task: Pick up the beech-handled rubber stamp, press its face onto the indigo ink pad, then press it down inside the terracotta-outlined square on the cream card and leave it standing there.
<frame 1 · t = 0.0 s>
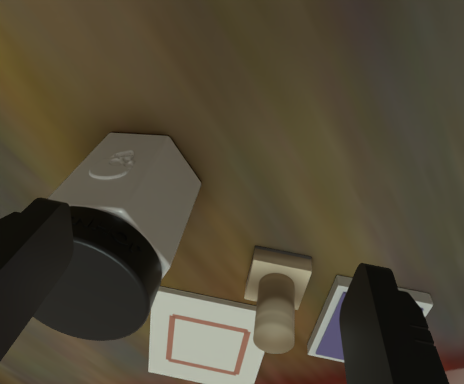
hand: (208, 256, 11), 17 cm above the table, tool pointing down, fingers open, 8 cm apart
ink pad: (363, 320, 36), on the table
jar: (147, 177, 31), on the table
sheet: (207, 341, 41), on the table
stamp: (277, 270, 34), on the table
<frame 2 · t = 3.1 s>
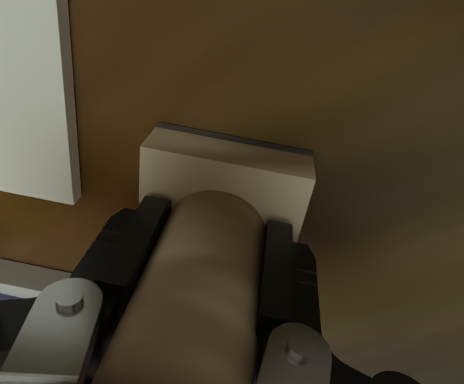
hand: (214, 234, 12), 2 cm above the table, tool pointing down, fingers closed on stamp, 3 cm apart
ink pad: (112, 342, 18), on the table
stamp: (224, 200, 13), on the table, touching gripper
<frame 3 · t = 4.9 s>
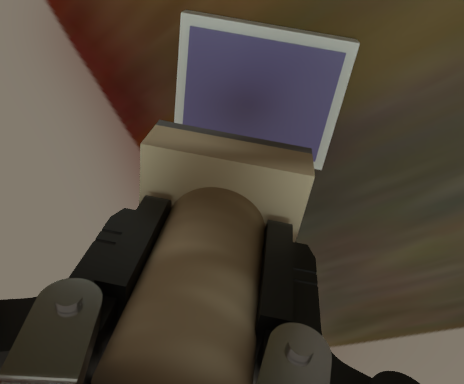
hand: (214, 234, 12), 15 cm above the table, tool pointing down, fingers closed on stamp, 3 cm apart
ink pad: (258, 91, 25), on the table
stamp: (224, 198, 13), point 13 cm above the table, touching gripper
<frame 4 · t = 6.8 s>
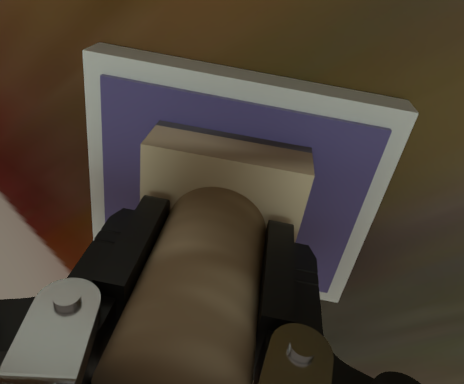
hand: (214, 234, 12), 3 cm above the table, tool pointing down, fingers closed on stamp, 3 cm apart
ink pad: (233, 177, 14), on the table
stamp: (225, 197, 13), point 1 cm above the table, touching gripper, ink pad
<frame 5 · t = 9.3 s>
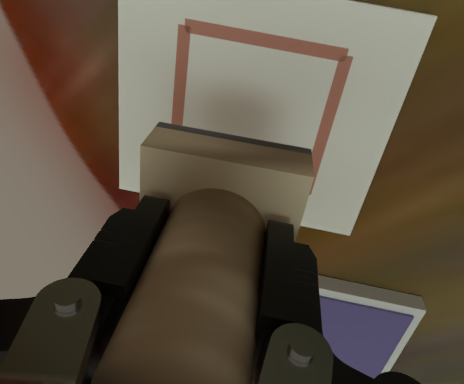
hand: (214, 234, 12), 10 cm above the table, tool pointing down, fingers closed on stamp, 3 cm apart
ink pad: (328, 320, 28), on the table
sheet: (251, 113, 20), on the table
stamp: (224, 199, 13), point 8 cm above the table, touching gripper
when the fingers open (3 cm above the table, at t = 10.6 s): stamp stays where it is, resting on sheet.
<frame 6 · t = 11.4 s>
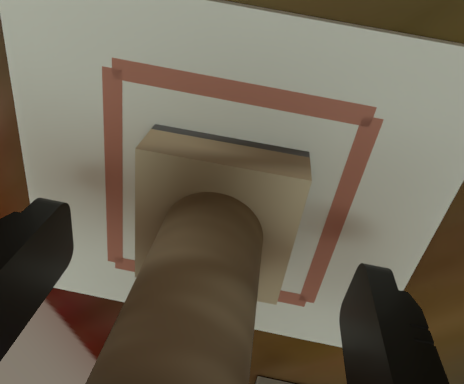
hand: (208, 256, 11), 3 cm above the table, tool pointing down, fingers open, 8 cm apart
sheet: (225, 192, 14), on the table
stamp: (222, 202, 13), point 1 cm above the table, touching sheet
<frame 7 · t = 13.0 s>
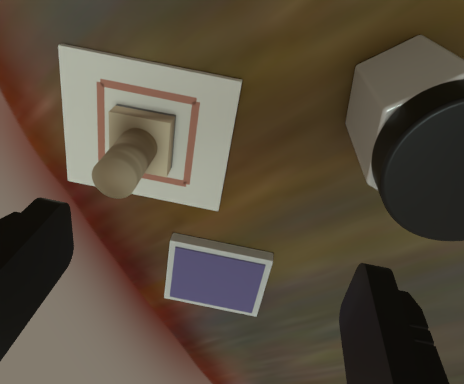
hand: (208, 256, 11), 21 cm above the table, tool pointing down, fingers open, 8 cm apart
ink pad: (217, 272, 40), on the table
jar: (402, 97, 29), on the table
sheet: (148, 133, 33), on the table
stamp: (145, 136, 32), point 1 cm above the table, touching sheet
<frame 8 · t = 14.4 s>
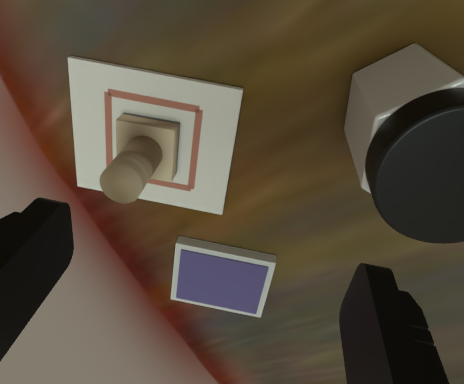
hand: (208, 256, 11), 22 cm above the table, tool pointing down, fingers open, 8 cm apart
ink pad: (222, 274, 41), on the table
jar: (399, 103, 30), on the table
sheet: (153, 140, 34), on the table
stamp: (151, 143, 33), point 1 cm above the table, touching sheet
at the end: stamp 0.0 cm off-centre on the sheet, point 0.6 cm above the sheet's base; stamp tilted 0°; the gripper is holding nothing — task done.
